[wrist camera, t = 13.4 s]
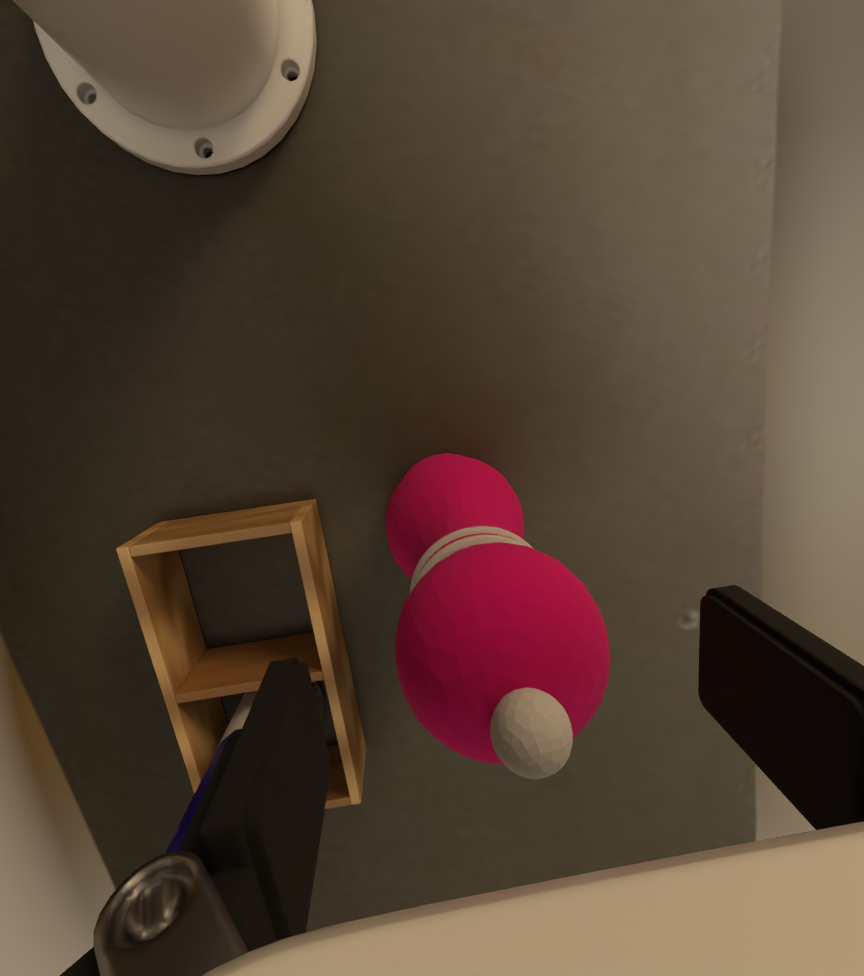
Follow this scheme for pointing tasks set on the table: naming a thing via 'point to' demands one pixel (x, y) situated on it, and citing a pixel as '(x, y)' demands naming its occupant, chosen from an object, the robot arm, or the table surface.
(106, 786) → the table surface
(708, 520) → the table surface
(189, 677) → the condiment rack
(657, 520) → the table surface
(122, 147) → the robot arm
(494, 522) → the pepper mill
